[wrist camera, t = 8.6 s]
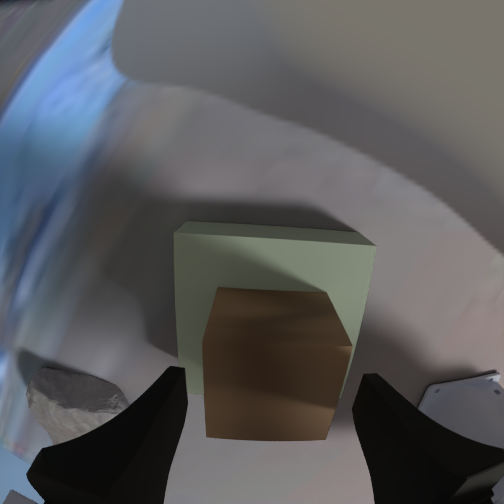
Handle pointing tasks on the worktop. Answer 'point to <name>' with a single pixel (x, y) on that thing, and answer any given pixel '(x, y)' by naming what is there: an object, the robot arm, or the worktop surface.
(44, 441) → the worktop surface
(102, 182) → the worktop surface
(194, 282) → the base block
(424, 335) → the worktop surface
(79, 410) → the stone block
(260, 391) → the walnut block
